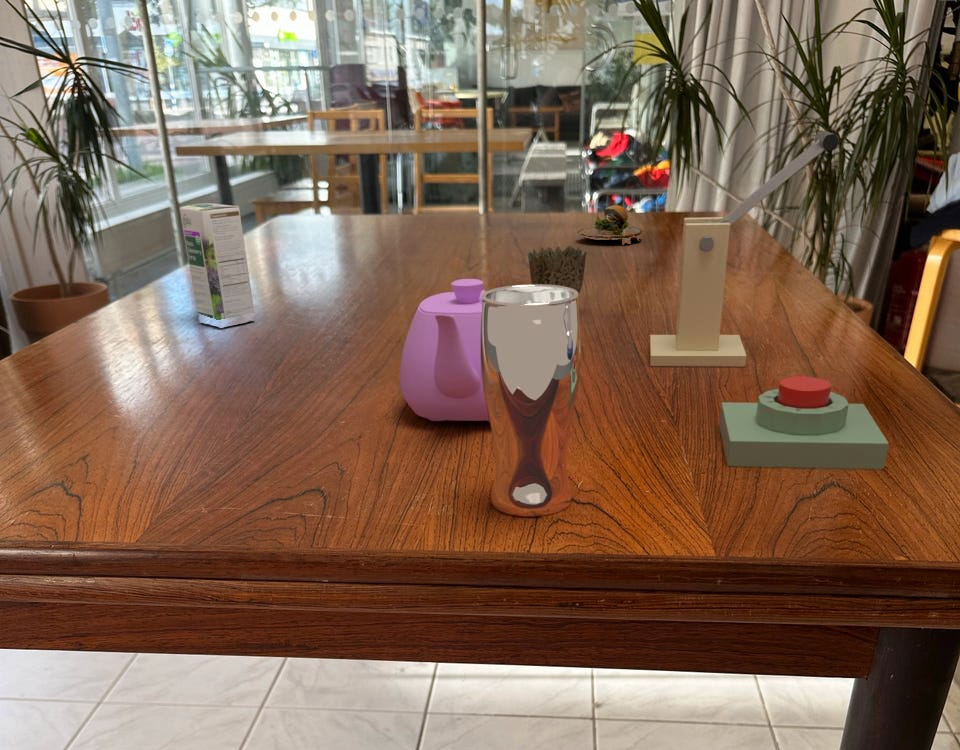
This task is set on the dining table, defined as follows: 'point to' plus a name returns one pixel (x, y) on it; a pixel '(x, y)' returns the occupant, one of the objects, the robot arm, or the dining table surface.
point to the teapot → (446, 356)
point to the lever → (782, 176)
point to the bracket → (700, 303)
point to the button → (804, 392)
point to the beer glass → (530, 393)
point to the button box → (801, 435)
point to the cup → (558, 267)
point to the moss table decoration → (613, 223)
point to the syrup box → (217, 260)
